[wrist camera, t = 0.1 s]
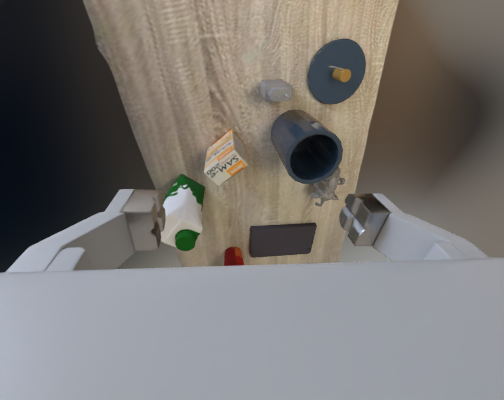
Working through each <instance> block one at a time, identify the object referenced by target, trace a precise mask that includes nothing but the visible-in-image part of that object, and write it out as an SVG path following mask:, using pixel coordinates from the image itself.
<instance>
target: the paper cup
mask: <svg viewBox="0 0 504 400" xmlns="http://www.w3.org/2000/svg"><path fill="white" fill-rule="evenodd" d="M241 265H244V263H243V258H242V253H241V250H240V249H239V248H237V247H230V248H228V249H227V250H226V251H225V261H224V266H241Z"/></svg>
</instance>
